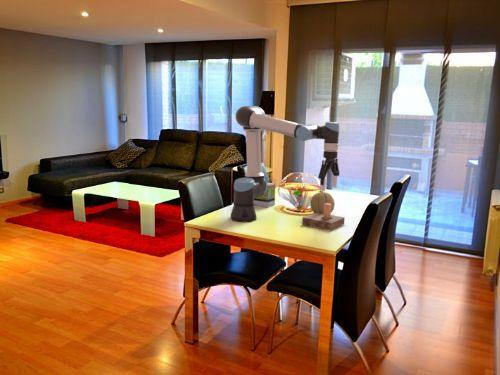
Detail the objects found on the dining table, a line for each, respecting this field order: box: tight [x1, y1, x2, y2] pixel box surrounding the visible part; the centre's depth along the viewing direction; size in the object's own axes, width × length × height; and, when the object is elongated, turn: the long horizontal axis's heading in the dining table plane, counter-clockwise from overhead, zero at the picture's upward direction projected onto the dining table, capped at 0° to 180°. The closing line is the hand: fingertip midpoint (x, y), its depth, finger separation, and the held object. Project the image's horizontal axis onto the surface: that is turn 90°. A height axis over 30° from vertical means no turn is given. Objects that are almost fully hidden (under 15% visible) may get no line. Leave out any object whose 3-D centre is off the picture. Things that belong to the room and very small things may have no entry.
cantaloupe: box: [309, 190, 336, 213], centre depth 262 cm, size 15×15×15 cm
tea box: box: [254, 182, 276, 208], centre depth 287 cm, size 15×10×15 cm
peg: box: [323, 203, 332, 220], centre depth 242 cm, size 4×4×12 cm
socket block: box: [301, 212, 346, 231], centre depth 244 cm, size 18×16×4 cm
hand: (328, 188), depth 239 cm, fingers open, 13 cm apart
